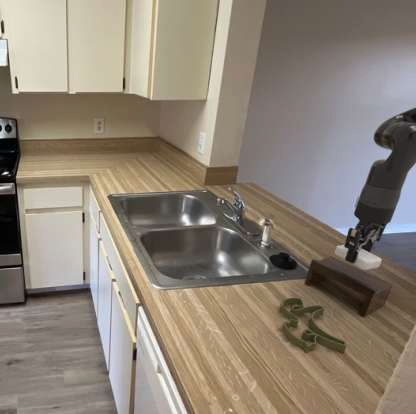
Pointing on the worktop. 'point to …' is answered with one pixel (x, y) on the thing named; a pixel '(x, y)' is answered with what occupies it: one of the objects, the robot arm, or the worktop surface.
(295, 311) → the cookie cutter
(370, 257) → the soap
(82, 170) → the worktop surface
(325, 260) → the dark wooden riser
